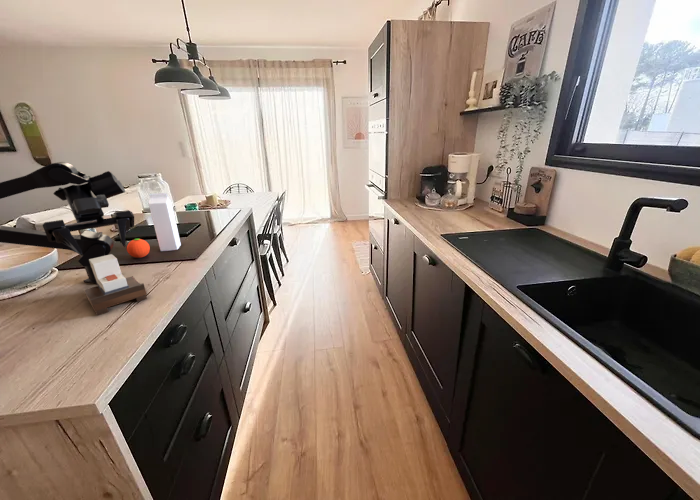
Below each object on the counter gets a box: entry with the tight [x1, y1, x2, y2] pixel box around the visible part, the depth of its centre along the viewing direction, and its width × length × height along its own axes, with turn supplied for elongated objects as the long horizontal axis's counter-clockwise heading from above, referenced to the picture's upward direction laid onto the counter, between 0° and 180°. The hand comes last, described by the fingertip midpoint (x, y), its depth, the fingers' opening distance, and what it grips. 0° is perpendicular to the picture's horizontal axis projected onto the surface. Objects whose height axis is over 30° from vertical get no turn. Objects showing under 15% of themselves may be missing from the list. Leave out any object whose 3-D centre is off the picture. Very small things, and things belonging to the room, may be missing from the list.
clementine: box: [126, 238, 151, 259], centre depth 106 cm, size 8×7×7 cm
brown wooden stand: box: [83, 275, 148, 316], centre depth 77 cm, size 12×11×4 cm
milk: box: [148, 192, 182, 252], centre depth 111 cm, size 6×6×22 cm
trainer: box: [89, 253, 129, 295], centre depth 76 cm, size 10×5×8 cm, turn 50°
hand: (104, 250), depth 78 cm, fingers open, 9 cm apart
